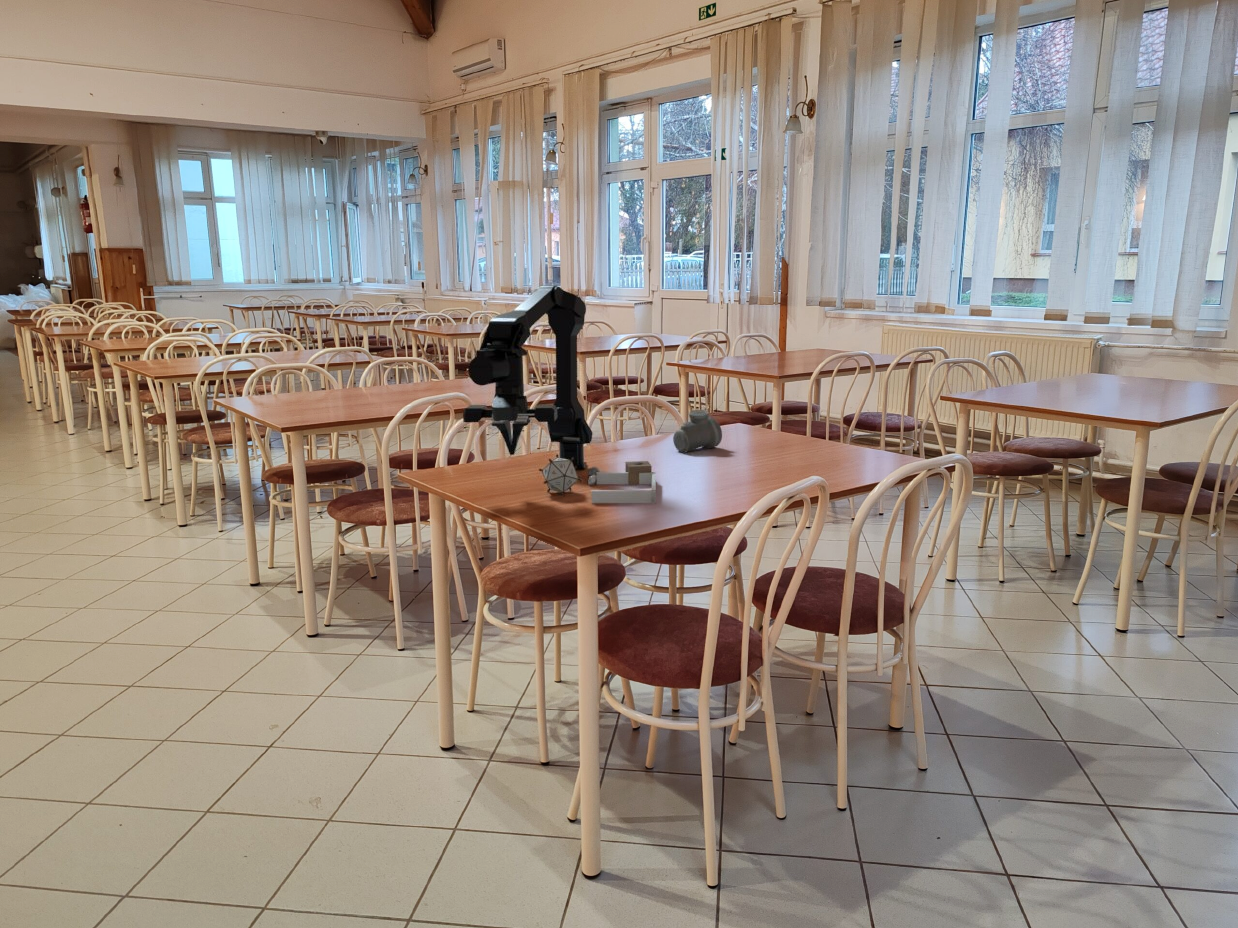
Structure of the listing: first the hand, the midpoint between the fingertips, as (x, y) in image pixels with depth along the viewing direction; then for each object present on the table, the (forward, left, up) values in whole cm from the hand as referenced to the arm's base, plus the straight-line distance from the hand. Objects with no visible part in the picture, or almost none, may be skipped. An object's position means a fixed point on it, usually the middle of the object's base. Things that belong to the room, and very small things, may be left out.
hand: (512, 454), depth 181 cm
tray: (0, +23, -8) cm, 24 cm away
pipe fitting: (-45, +40, -8) cm, 61 cm away
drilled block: (-10, +26, -8) cm, 29 cm away
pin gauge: (-10, +16, -8) cm, 20 cm away
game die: (0, +10, -8) cm, 13 cm away
